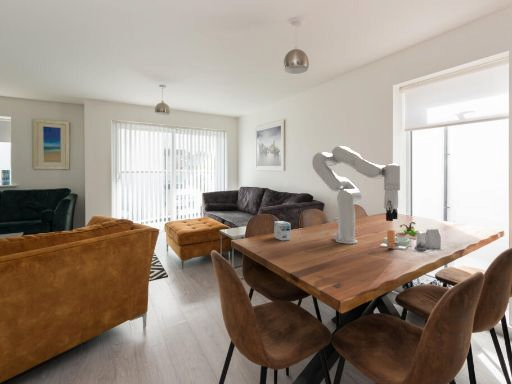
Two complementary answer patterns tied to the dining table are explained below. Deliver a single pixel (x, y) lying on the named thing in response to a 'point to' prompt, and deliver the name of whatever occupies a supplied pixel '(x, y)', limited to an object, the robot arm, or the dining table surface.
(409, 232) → the plant
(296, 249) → the dining table surface
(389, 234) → the pin
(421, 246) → the grey rounded piece
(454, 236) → the dining table surface
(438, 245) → the grey white box
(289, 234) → the light bulb box
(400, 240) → the dock
